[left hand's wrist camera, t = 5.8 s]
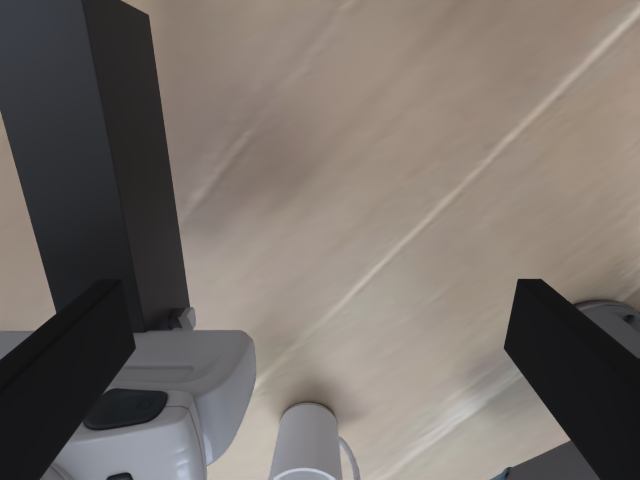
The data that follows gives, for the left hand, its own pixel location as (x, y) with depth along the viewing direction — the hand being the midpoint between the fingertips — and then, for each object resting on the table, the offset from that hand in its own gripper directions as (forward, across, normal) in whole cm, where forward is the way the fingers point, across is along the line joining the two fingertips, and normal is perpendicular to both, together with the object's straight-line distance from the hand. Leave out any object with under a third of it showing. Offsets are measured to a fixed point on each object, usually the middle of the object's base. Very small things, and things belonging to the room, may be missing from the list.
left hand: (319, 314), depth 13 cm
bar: (+18, -14, 0) cm, 23 cm away
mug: (+29, 0, -36) cm, 46 cm away
